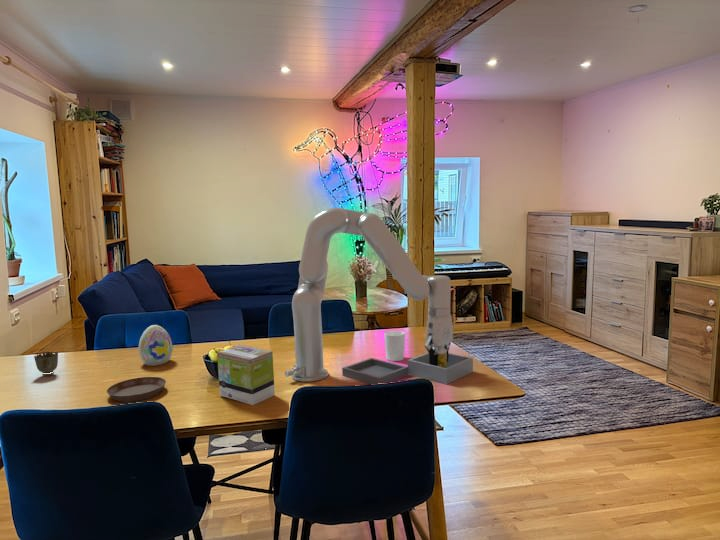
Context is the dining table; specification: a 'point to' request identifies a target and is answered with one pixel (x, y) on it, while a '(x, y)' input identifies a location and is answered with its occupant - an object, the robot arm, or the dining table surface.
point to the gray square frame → (441, 368)
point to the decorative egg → (155, 346)
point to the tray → (375, 371)
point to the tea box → (246, 374)
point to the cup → (46, 362)
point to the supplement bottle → (442, 356)
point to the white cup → (394, 345)
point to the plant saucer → (136, 389)
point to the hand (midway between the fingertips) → (438, 362)
